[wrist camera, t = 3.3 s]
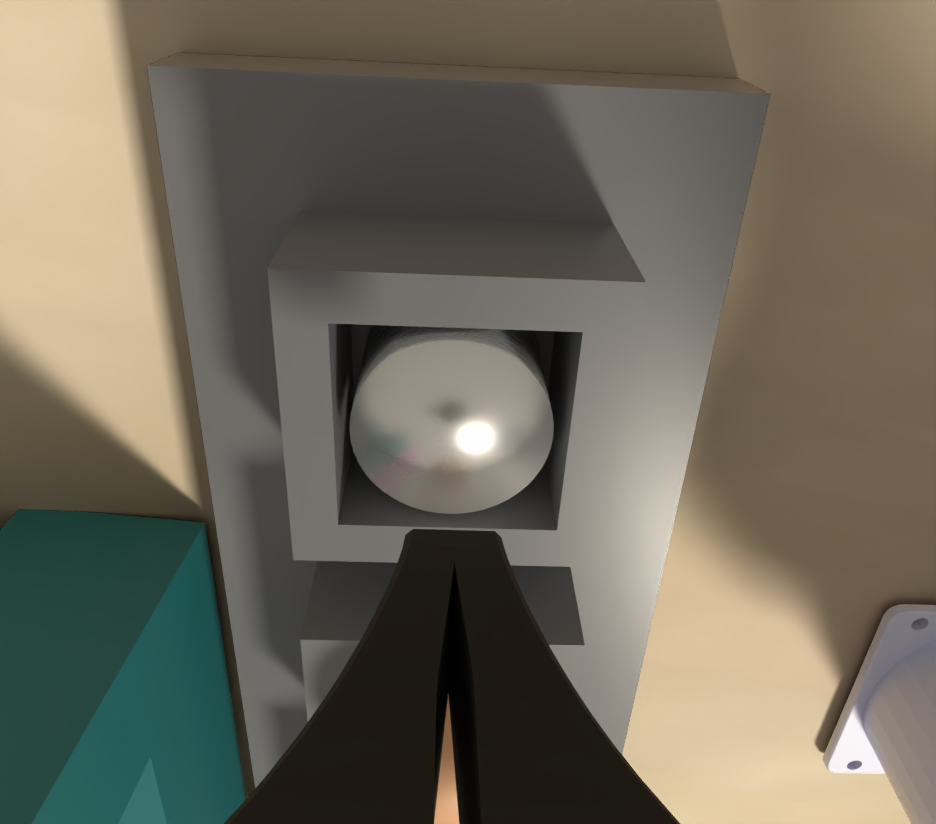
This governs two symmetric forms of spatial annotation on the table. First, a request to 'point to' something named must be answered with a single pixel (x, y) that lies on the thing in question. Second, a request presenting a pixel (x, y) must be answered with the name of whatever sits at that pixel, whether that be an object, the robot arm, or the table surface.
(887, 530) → the table surface
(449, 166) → the control panel
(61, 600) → the teal l-shaped bracket
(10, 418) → the table surface
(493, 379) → the knob
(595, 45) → the table surface
